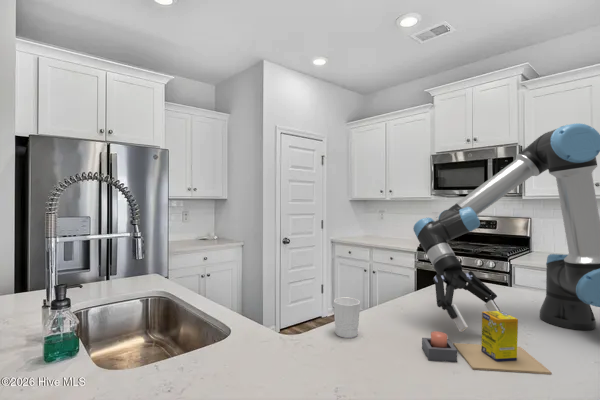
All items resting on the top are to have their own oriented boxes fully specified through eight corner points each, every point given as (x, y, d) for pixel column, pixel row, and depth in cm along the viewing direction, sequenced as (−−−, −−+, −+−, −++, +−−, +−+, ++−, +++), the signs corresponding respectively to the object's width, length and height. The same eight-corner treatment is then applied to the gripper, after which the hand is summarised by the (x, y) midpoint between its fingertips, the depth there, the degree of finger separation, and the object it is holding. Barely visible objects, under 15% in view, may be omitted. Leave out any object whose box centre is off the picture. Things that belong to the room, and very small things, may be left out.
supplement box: (480, 351, 93) (481, 311, 92) (500, 350, 93) (501, 310, 93) (496, 362, 87) (496, 319, 87) (517, 361, 88) (518, 318, 87)
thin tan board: (520, 348, 96) (520, 346, 96) (551, 374, 82) (551, 372, 82) (453, 344, 98) (453, 343, 98) (472, 369, 84) (472, 367, 84)
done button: (444, 344, 93) (444, 331, 93) (449, 351, 89) (449, 337, 89) (429, 343, 94) (429, 331, 94) (433, 350, 90) (433, 337, 90)
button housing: (448, 349, 95) (448, 338, 95) (457, 362, 88) (457, 350, 88) (421, 348, 95) (422, 337, 95) (428, 360, 88) (428, 348, 88)
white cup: (359, 340, 100) (359, 306, 100) (332, 337, 102) (332, 304, 102) (359, 329, 108) (360, 298, 108) (334, 327, 110) (335, 296, 109)
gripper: (468, 265, 115) (507, 327, 101) (405, 270, 106) (439, 337, 92) (482, 252, 109) (525, 315, 96) (417, 256, 101) (454, 325, 87)
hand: (483, 326), depth 94 cm, fingers open, 13 cm apart
